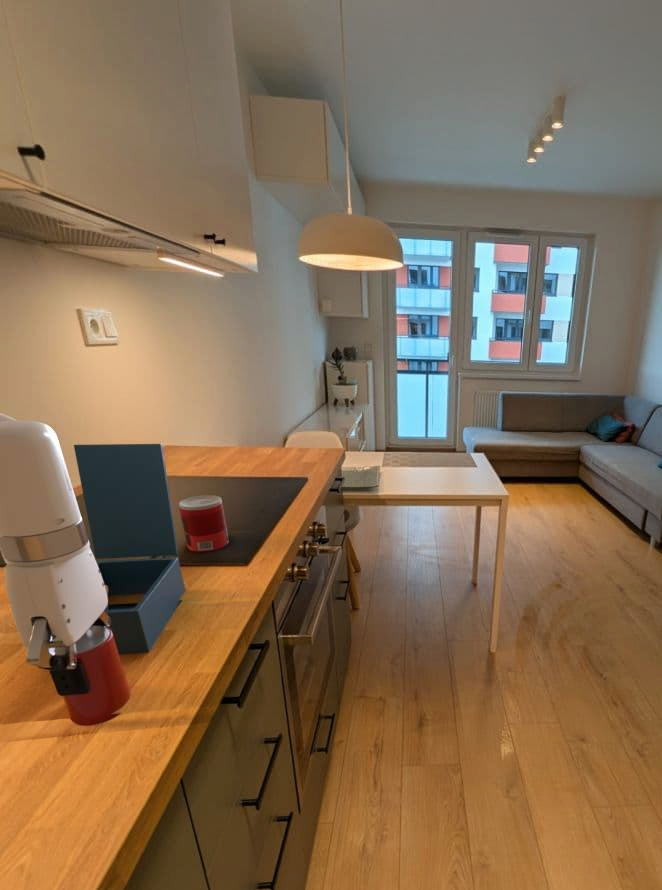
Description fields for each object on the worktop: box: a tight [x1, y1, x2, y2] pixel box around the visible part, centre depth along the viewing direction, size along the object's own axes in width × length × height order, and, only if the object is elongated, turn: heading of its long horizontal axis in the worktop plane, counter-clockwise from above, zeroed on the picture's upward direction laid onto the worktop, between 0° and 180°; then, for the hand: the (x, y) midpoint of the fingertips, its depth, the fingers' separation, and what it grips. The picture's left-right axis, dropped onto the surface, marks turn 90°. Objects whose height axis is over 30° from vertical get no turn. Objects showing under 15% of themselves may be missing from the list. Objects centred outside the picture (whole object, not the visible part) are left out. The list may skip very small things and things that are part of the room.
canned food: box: [178, 494, 230, 553], centre depth 105 cm, size 8×8×11 cm
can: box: [53, 626, 132, 726], centre depth 62 cm, size 7×7×10 cm
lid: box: [73, 443, 179, 560], centre depth 85 cm, size 18×13×5 cm
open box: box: [52, 556, 186, 656], centre depth 79 cm, size 18×13×8 cm
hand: (90, 672), depth 62 cm, fingers closed on can, 6 cm apart
